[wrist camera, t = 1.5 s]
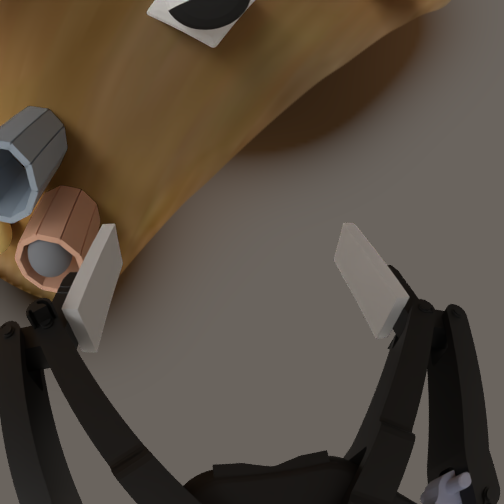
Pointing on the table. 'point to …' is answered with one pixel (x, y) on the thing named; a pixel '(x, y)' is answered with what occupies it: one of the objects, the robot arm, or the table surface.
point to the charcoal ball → (48, 258)
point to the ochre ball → (5, 236)
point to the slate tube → (28, 159)
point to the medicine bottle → (200, 17)
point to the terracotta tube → (60, 231)
